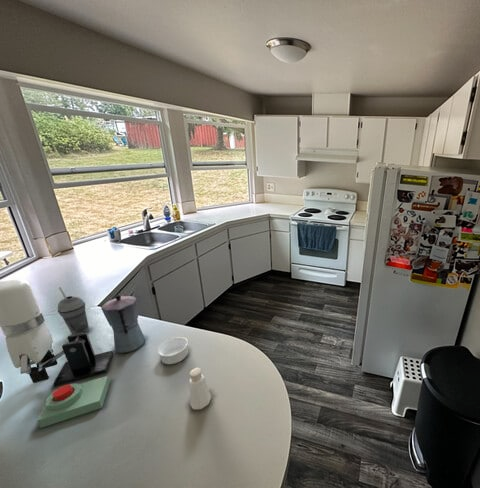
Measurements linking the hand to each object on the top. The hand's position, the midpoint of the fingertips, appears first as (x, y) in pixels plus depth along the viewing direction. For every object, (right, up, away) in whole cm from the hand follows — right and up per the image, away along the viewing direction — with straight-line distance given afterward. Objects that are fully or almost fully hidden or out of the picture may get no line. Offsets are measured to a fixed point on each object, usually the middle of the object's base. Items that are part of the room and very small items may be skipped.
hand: (46, 372), depth 75 cm
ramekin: (+32, 0, +11) cm, 34 cm away
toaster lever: (+5, +5, +1) cm, 7 cm away
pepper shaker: (+49, -6, -4) cm, 49 cm away
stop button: (+14, -2, -8) cm, 17 cm away
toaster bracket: (+8, -1, +5) cm, 9 cm away
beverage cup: (-9, +5, +20) cm, 22 cm away
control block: (+16, -5, -6) cm, 18 cm away
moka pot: (+14, +2, +15) cm, 21 cm away
